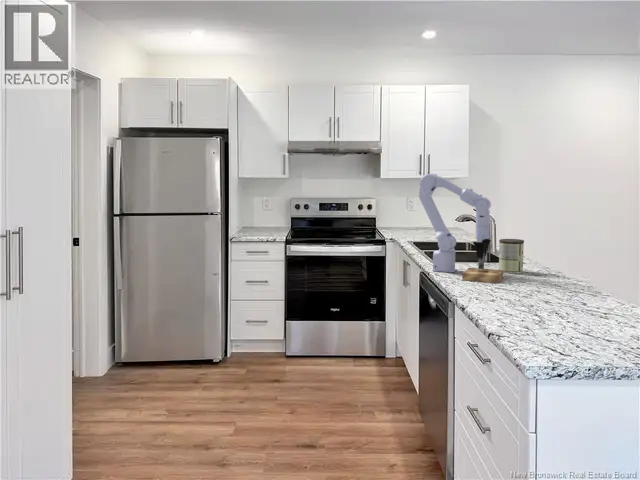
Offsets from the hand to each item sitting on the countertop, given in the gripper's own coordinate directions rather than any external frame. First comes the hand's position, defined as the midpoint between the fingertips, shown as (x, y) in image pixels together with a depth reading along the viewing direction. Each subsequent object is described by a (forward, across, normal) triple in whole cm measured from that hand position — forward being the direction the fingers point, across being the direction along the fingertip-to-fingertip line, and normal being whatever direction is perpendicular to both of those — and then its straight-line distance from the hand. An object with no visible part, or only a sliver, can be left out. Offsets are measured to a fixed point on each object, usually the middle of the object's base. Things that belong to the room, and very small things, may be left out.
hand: (481, 257), depth 241 cm
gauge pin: (+7, 0, 0) cm, 7 cm away
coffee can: (+7, +10, -11) cm, 16 cm away
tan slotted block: (+7, -13, -3) cm, 15 cm away
